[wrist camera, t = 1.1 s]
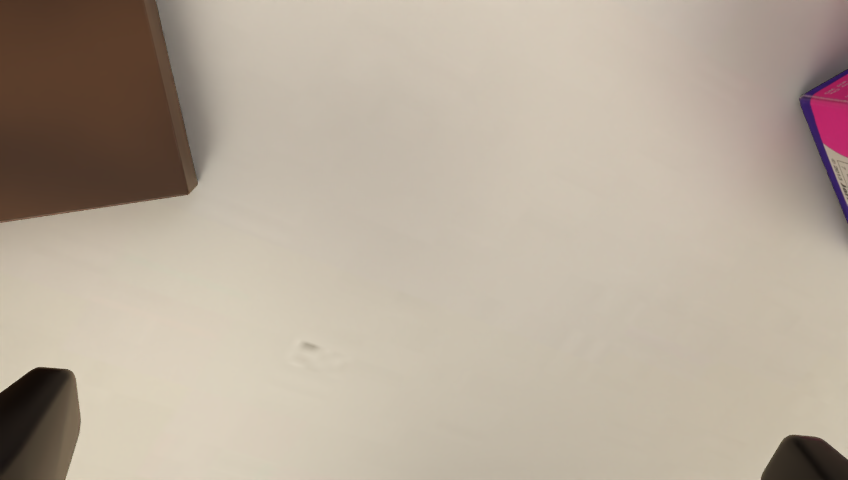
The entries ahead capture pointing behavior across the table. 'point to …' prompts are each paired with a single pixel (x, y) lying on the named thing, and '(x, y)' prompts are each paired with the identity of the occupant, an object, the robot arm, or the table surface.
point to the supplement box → (831, 130)
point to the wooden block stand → (87, 108)
